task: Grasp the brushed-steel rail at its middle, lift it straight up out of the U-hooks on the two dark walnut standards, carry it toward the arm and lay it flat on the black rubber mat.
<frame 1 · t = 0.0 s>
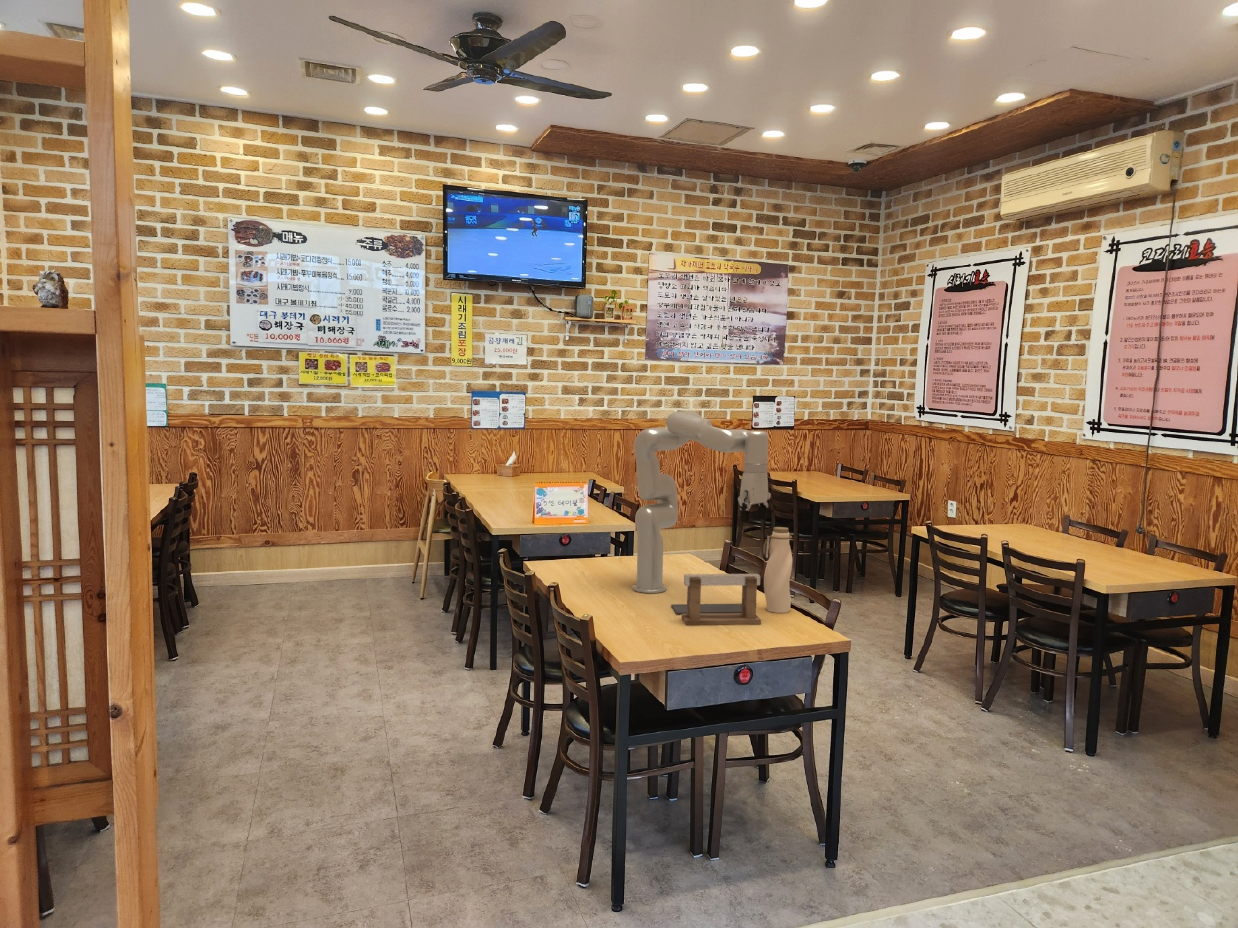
hand: (753, 520, 259), 31 cm above the table, tool pointing down, fingers open, 9 cm apart
water bottle: (776, 610, 267), on the table
black mat: (711, 610, 266), on the table
steel rail: (721, 584, 252), point 12 cm above the table, touching walnut rack
walnut rack: (720, 621, 253), on the table
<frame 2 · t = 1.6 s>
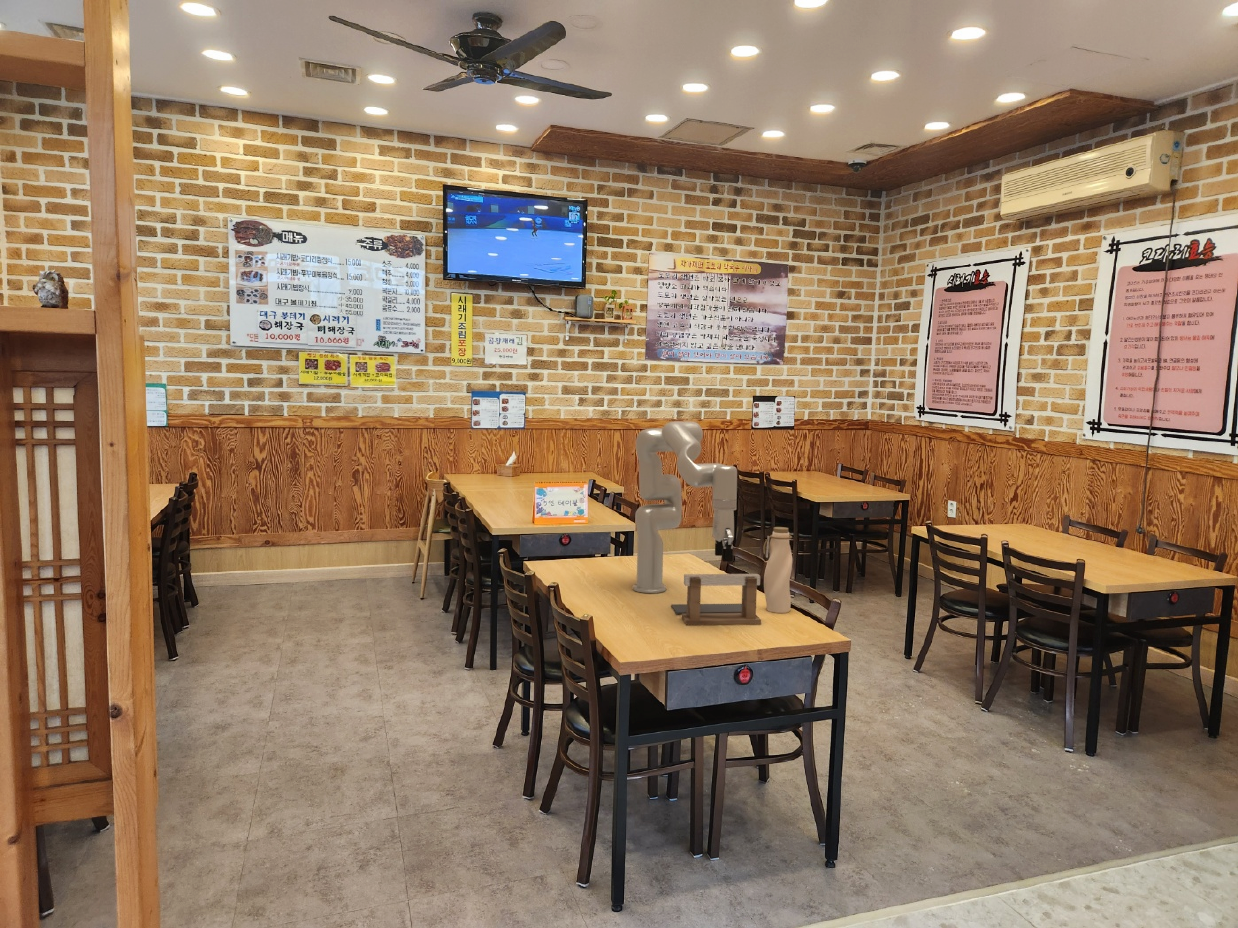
hand: (723, 558, 251), 21 cm above the table, tool pointing down, fingers open, 9 cm apart
nothing on the table moved.
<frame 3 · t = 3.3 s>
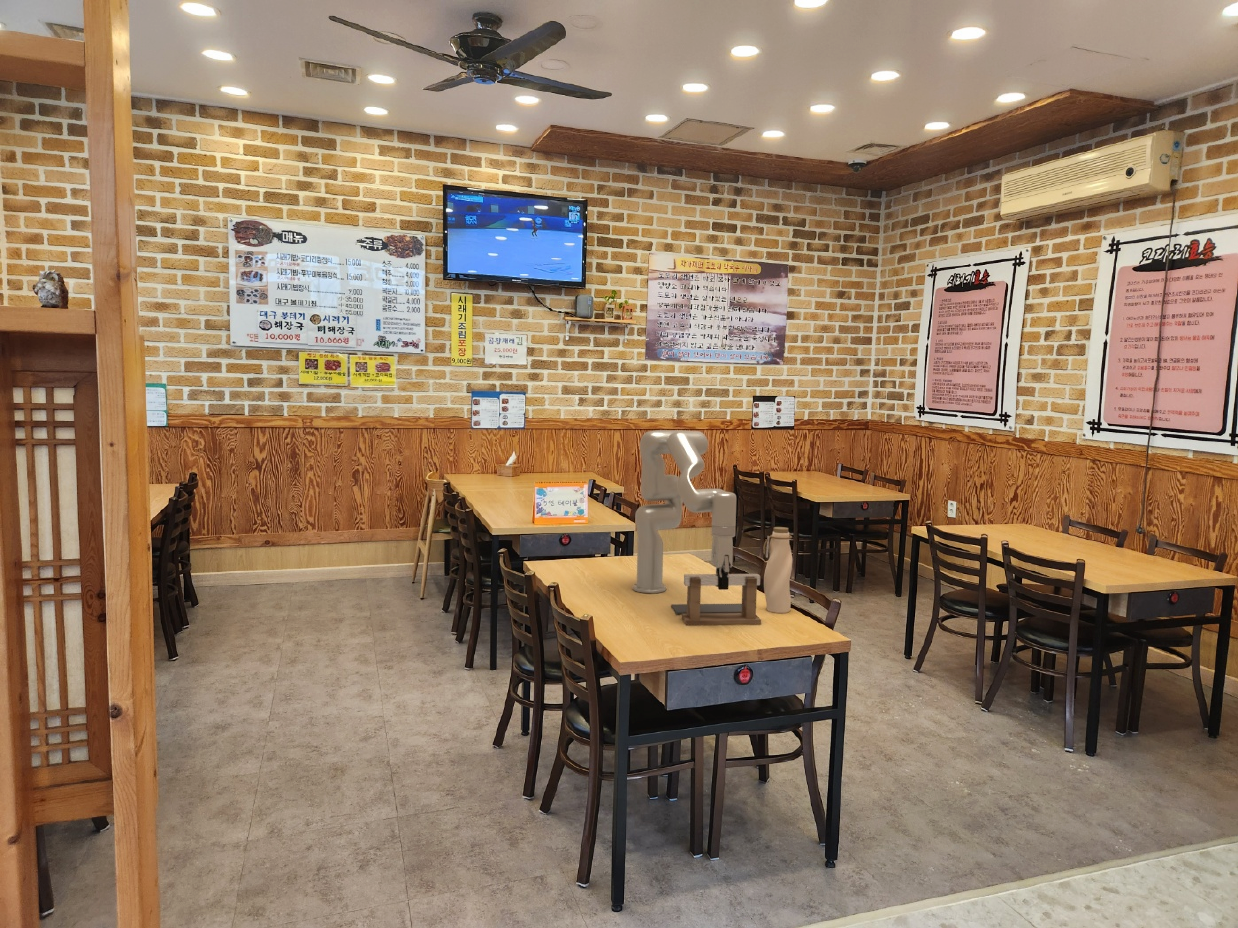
hand: (721, 587, 252), 11 cm above the table, tool pointing down, fingers closed on steel rail, 3 cm apart
steel rail: (721, 584, 252), point 12 cm above the table, touching gripper, walnut rack
everything else where it was.
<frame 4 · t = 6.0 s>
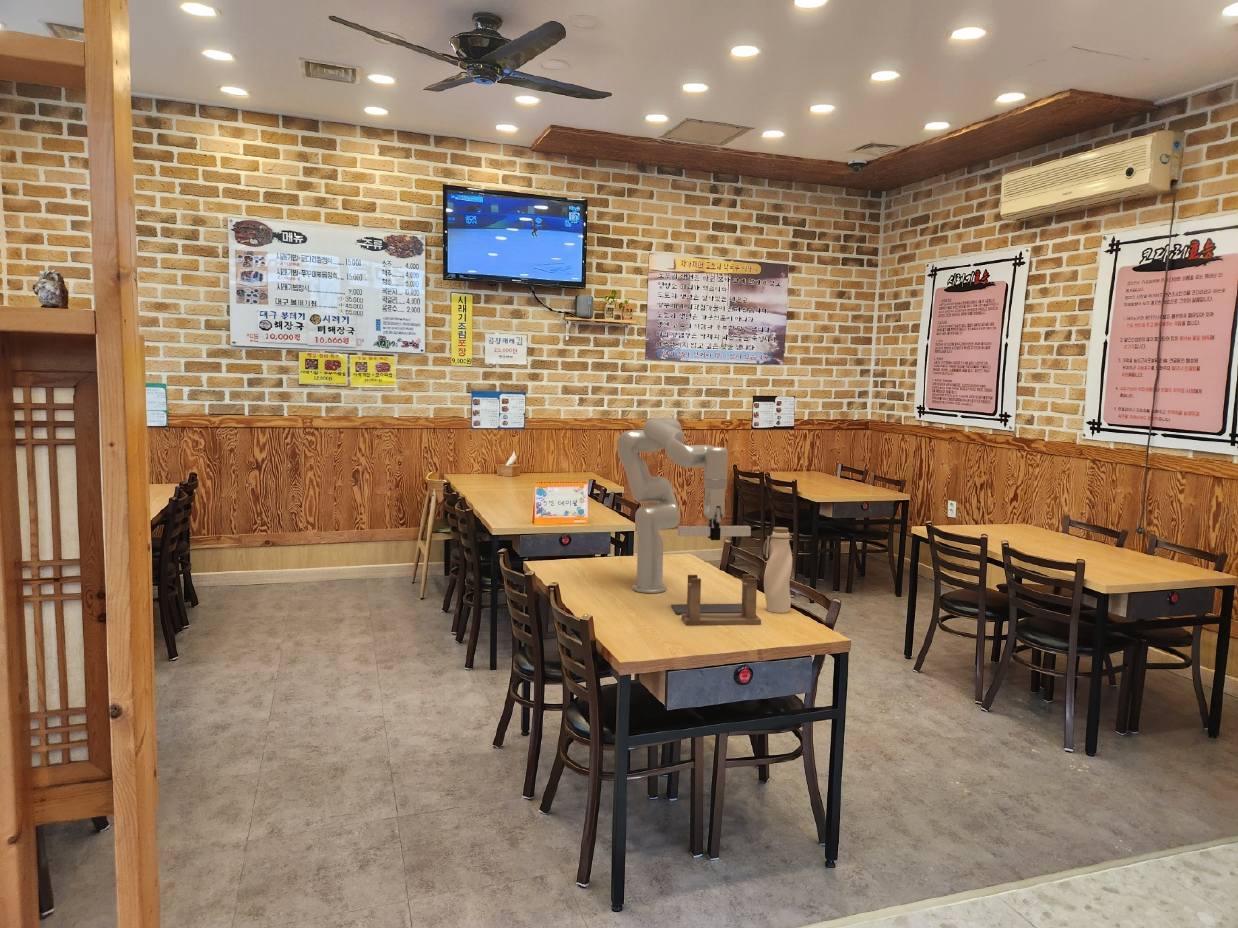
hand: (714, 538, 264), 24 cm above the table, tool pointing down, fingers closed on steel rail, 3 cm apart
steel rail: (714, 535, 264), point 25 cm above the table, touching gripper
everything else where it was.
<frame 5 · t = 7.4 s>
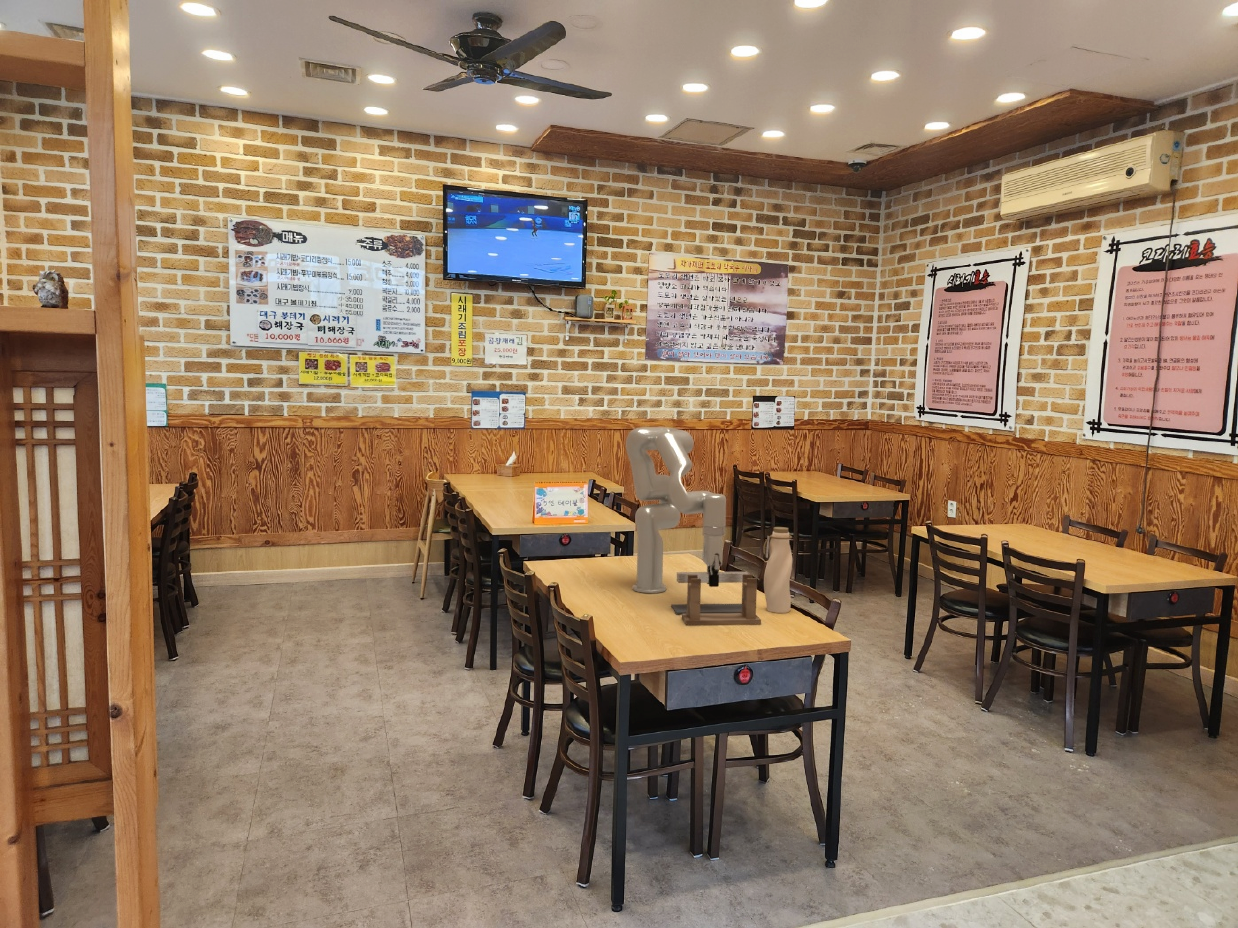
hand: (712, 584, 265), 9 cm above the table, tool pointing down, fingers closed on steel rail, 3 cm apart
steel rail: (712, 581, 265), point 10 cm above the table, touching gripper
everything else where it was.
when the fingers open (2 cm above the table, at t = 8.8 s): steel rail drops 2 cm, resting on black mat.
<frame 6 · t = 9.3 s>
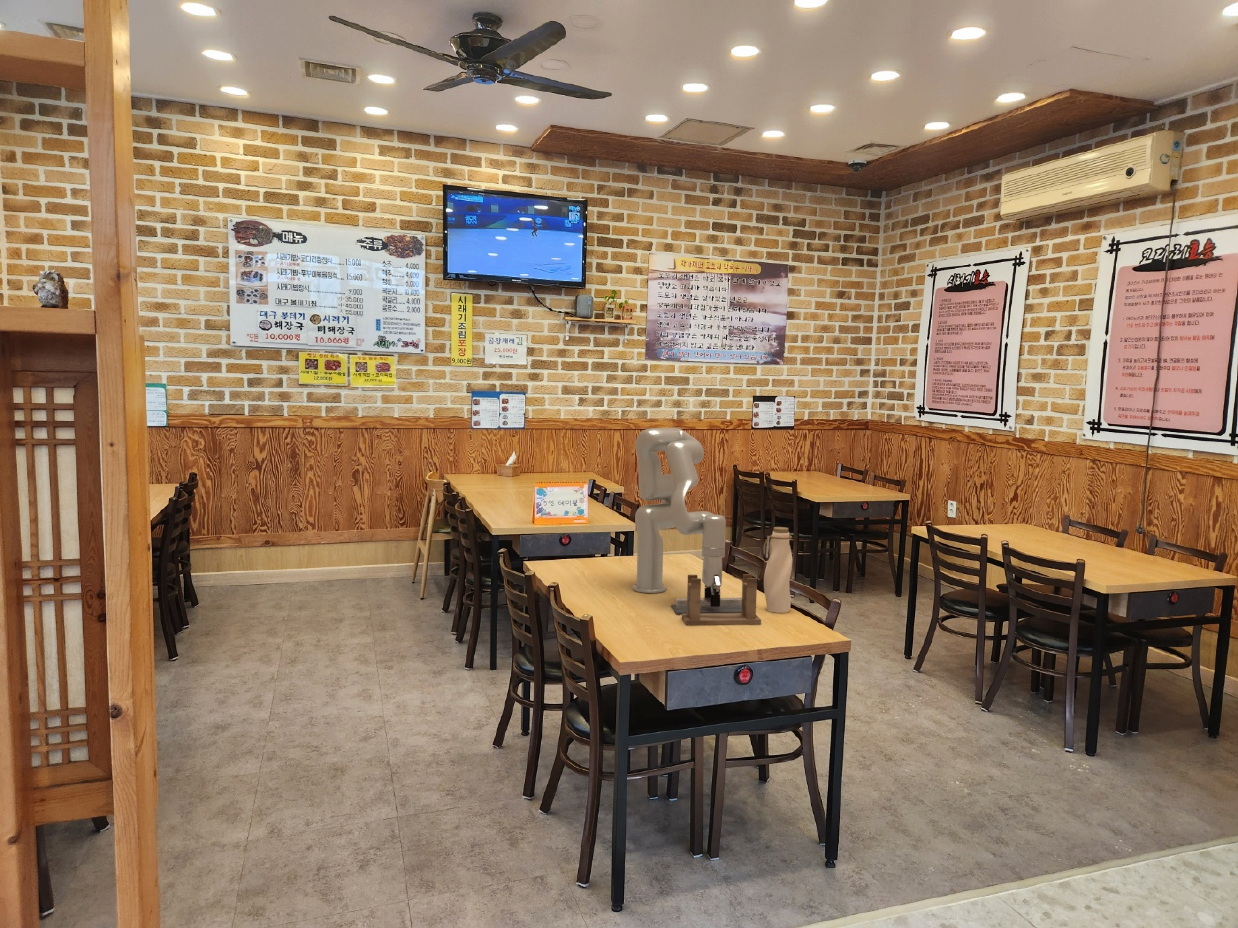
hand: (712, 602, 266), 3 cm above the table, tool pointing down, fingers open, 8 cm apart
steel rail: (711, 607, 266), point 1 cm above the table, touching black mat
everything else where it was.
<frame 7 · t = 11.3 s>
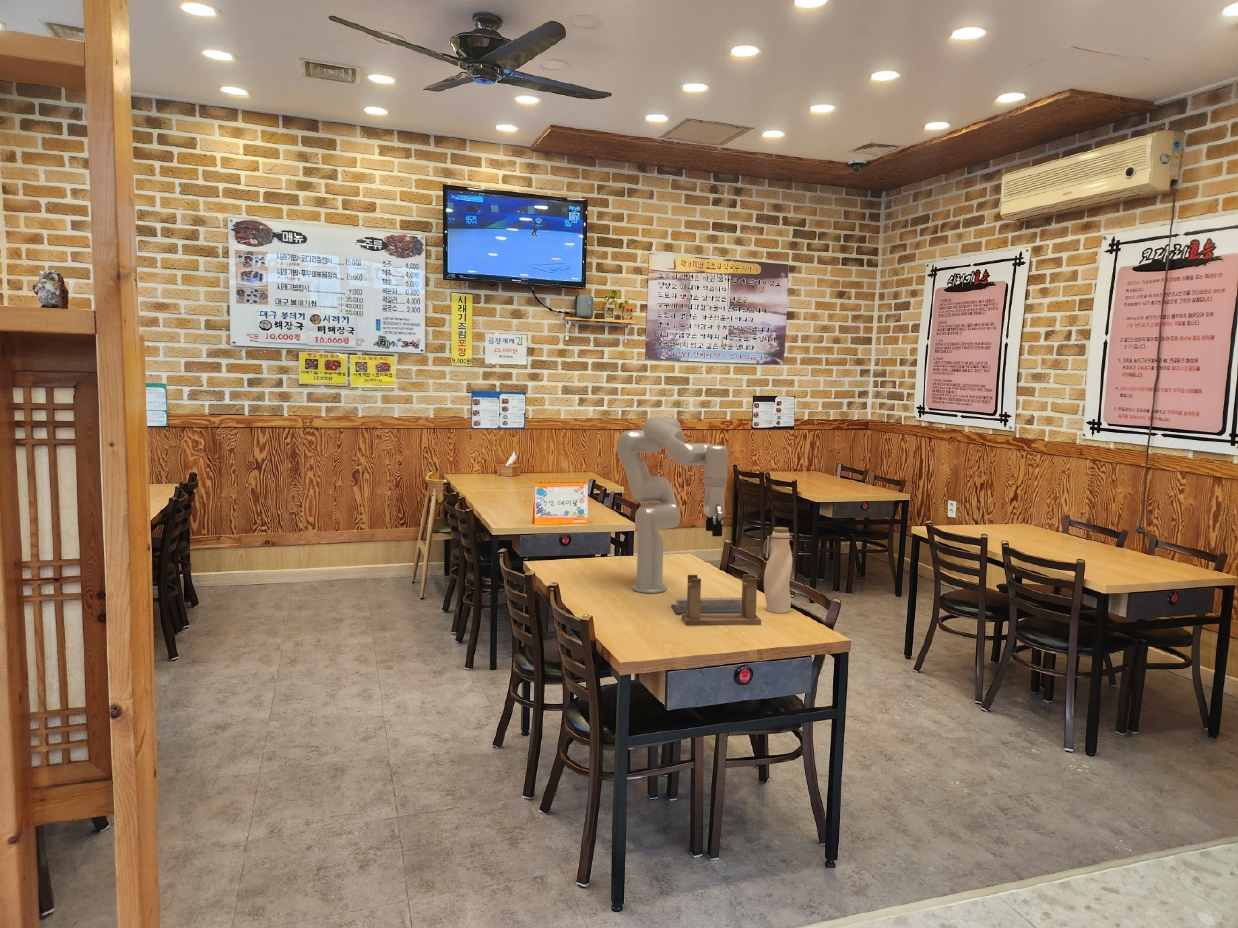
hand: (713, 533, 264), 26 cm above the table, tool pointing down, fingers open, 9 cm apart
nothing on the table moved.
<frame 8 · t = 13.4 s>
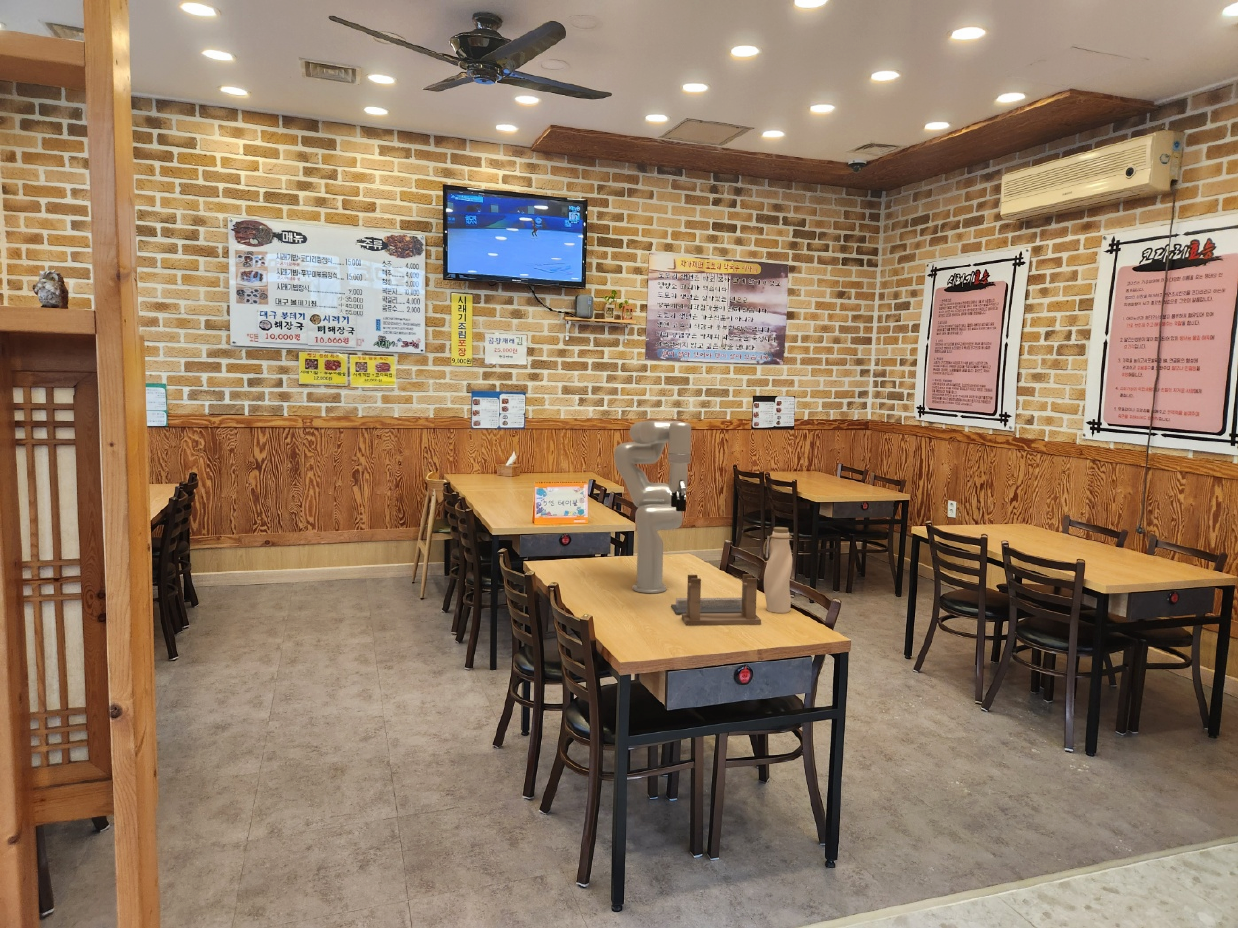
hand: (678, 508, 269), 33 cm above the table, tool pointing down, fingers open, 9 cm apart
nothing on the table moved.
at the end: steel rail inside the target area (0.2 cm from its centre), point 0.8 cm above the table; steel rail tilted 0°; the gripper is holding nothing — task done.
